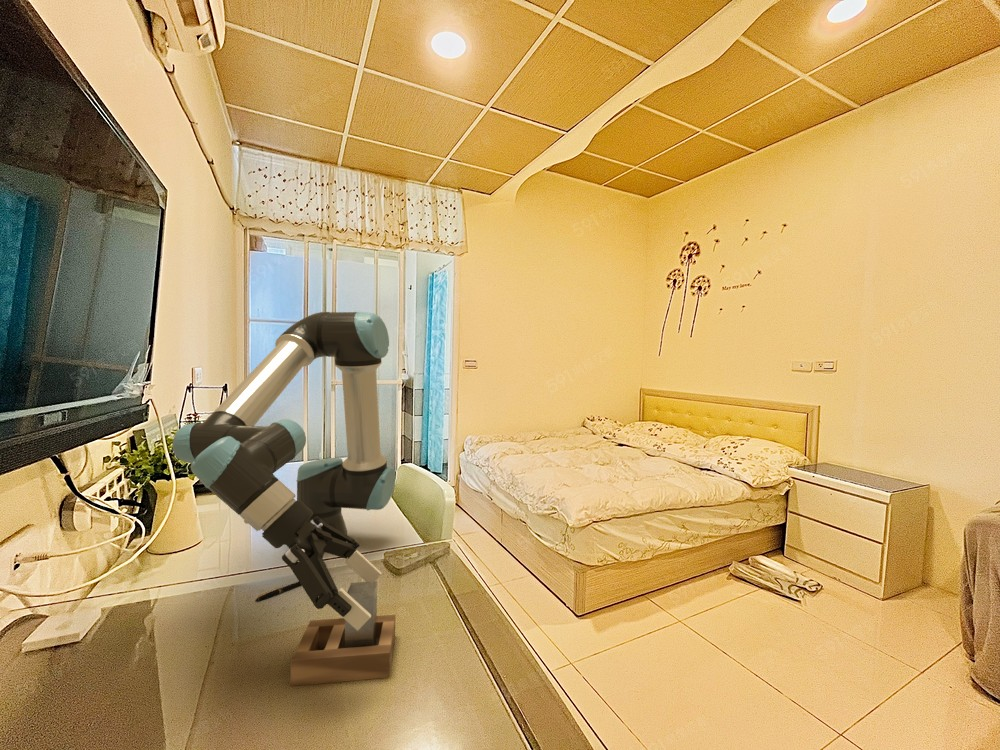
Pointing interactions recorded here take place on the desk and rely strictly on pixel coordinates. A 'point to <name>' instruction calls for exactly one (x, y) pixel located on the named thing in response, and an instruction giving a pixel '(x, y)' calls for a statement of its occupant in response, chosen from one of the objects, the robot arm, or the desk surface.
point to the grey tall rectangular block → (368, 600)
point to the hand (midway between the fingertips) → (370, 599)
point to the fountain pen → (277, 591)
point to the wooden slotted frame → (341, 653)
